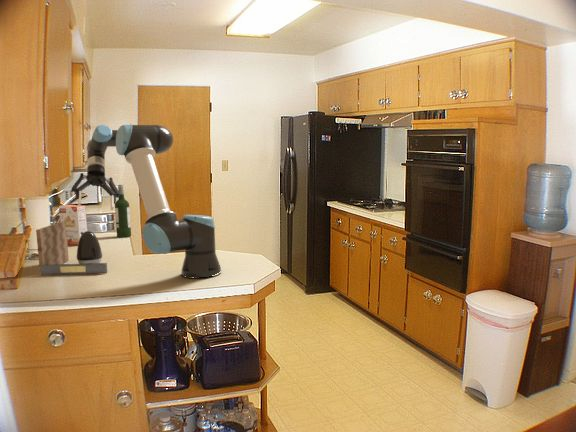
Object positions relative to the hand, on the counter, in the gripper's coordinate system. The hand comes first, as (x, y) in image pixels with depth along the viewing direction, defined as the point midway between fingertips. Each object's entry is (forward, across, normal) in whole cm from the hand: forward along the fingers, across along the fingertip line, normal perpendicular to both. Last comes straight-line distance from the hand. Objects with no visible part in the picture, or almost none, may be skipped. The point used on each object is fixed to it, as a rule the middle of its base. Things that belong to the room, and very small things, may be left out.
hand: (96, 206), depth 219 cm
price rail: (+31, +7, -5) cm, 32 cm away
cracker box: (-17, -2, -61) cm, 63 cm away
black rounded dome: (+22, 0, -13) cm, 26 cm away
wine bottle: (-26, -29, -63) cm, 74 cm away
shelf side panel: (+20, +12, -20) cm, 31 cm away
